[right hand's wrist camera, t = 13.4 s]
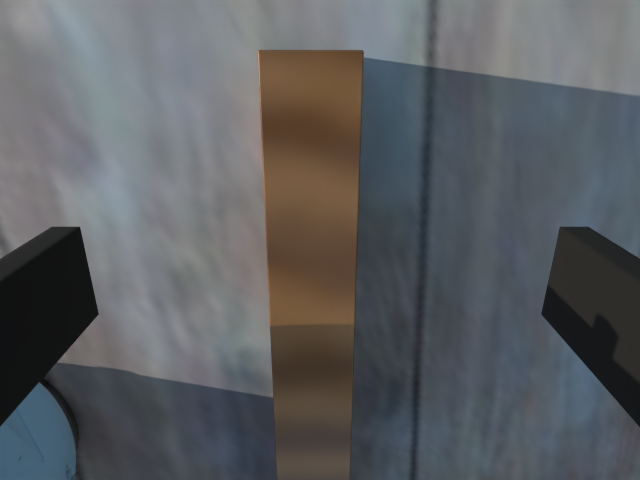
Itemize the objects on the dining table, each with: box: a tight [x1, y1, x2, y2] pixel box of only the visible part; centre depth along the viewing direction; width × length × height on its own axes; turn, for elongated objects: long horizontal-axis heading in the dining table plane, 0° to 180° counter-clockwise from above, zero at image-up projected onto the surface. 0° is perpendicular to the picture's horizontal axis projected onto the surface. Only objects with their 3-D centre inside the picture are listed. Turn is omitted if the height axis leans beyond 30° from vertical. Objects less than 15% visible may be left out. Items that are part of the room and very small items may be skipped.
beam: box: [258, 50, 364, 480], centre depth 34 cm, size 46×5×8 cm, turn 0°
